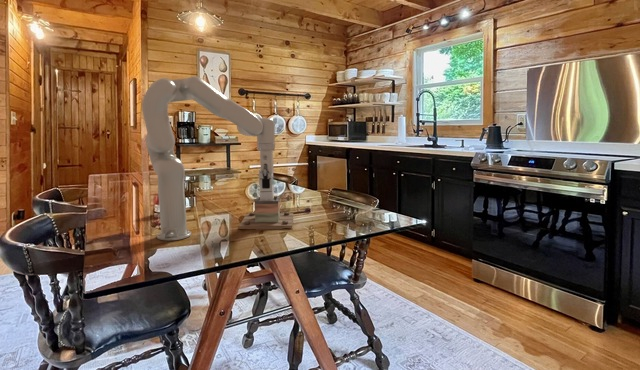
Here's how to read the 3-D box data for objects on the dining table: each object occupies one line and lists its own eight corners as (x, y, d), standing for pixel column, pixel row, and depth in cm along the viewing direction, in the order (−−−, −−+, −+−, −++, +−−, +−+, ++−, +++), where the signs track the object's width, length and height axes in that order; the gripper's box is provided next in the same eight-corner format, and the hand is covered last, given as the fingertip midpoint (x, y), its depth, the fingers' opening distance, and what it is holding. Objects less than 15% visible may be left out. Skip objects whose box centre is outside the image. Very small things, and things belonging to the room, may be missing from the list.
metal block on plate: (292, 228, 165) (291, 203, 163) (239, 229, 164) (238, 204, 162) (293, 216, 187) (293, 193, 185) (246, 216, 186) (245, 194, 184)
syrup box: (273, 202, 171) (272, 169, 168) (259, 203, 171) (258, 169, 168) (274, 200, 177) (273, 168, 174) (260, 200, 176) (260, 168, 174)
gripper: (273, 148, 161) (274, 189, 164) (276, 145, 178) (276, 183, 181) (254, 148, 161) (256, 190, 164) (259, 145, 178) (260, 183, 181)
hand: (267, 186), depth 173 cm, fingers open, 9 cm apart
